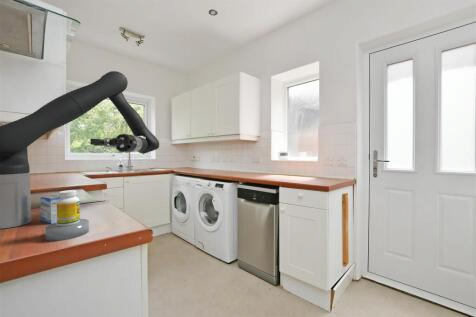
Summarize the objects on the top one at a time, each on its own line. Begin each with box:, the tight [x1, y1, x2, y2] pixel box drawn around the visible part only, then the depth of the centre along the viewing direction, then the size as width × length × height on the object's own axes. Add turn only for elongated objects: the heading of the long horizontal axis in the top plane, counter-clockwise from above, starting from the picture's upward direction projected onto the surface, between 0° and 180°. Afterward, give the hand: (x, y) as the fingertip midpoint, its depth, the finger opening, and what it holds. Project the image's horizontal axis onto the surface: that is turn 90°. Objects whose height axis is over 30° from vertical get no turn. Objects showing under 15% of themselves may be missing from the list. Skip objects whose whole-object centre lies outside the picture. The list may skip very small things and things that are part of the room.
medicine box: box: [40, 195, 61, 224], centre depth 78 cm, size 8×4×9 cm, turn 62°
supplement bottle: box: [56, 189, 81, 226], centre depth 64 cm, size 5×5×10 cm
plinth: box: [44, 218, 90, 242], centre depth 64 cm, size 10×10×3 cm
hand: (102, 141), depth 79 cm, fingers open, 8 cm apart
